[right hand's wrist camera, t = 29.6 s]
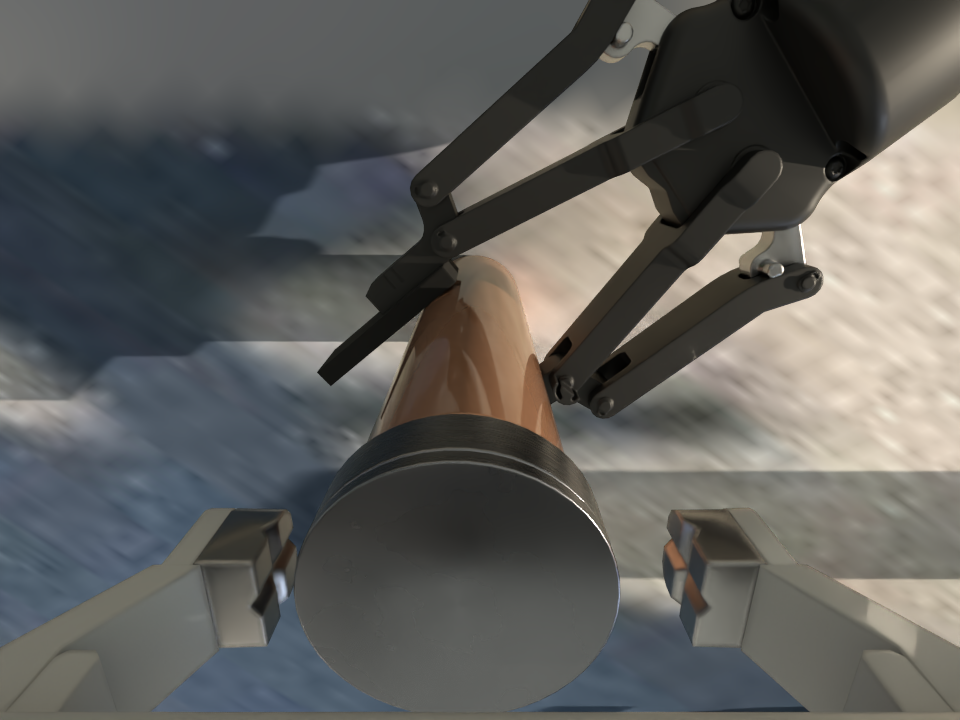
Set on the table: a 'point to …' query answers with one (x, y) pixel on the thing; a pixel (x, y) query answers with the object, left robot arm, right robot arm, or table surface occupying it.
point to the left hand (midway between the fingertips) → (377, 410)
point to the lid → (458, 568)
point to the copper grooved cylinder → (471, 357)
